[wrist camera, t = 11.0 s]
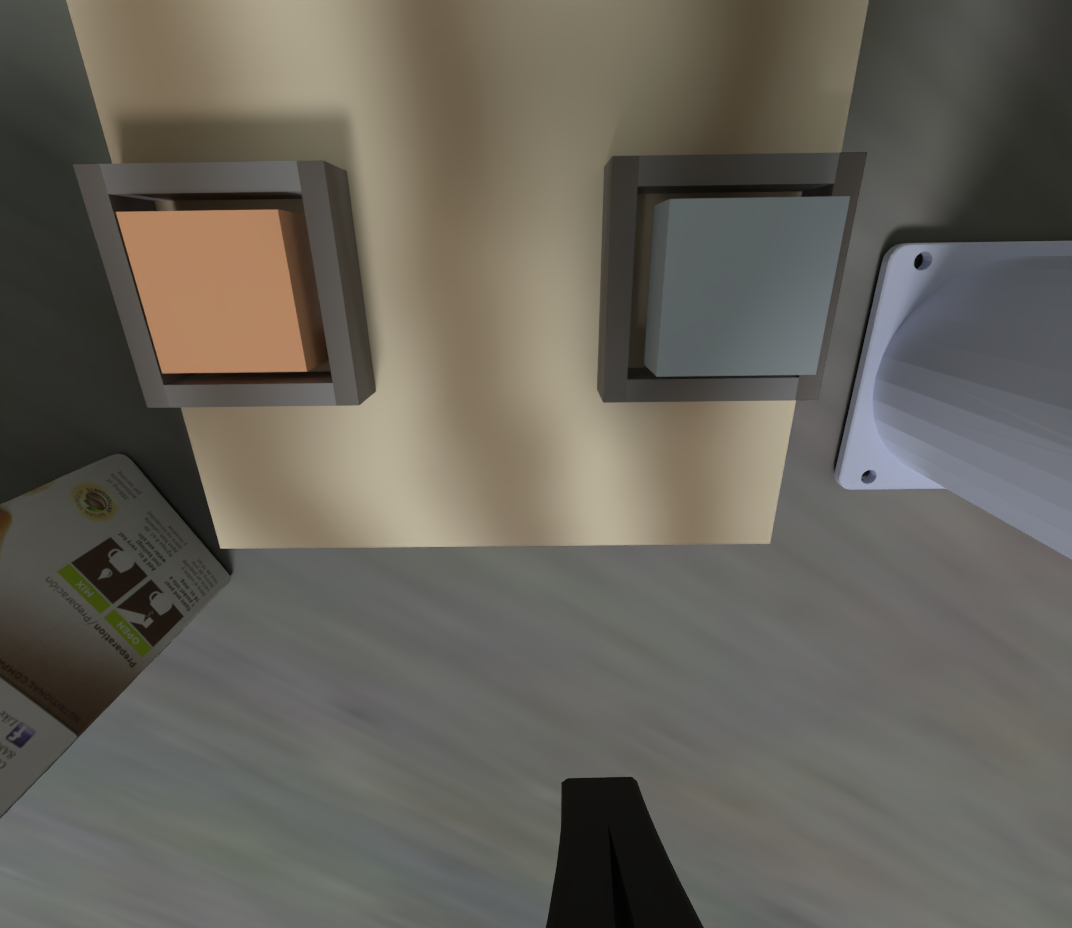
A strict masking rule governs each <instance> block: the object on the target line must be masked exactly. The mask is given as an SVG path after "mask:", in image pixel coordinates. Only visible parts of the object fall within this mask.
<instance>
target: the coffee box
mask: <svg viewBox="0 0 1072 928" xmlns="http://www.w3.org/2000/svg"><path fill="white" fill-rule="evenodd" d="M229 581H230V576H229V574H228V572H227V571H226V570H225V569H224V568H223V567H222V565H221V564H220V563H219V562H218V561H217V560H216V558H215V557H214V556H213V555H212V554H211V553H210V551H209V550H208V549H207V548H206V547H205V545H204V544H203V543H202V542H201V541H200V540H199V538H198V537H197V536H196V535H195V534H194V533H193V531H192V530H191V529H190V528H189V527H188V526H187V524H186V523H185V522H184V521H183V520H182V519H181V518H180V516H179V515H178V514H177V513H176V512H175V511H174V509H173V508H172V507H171V506H170V505H169V504H168V502H167V501H166V500H165V499H164V498H163V496H162V495H161V494H160V493H159V492H158V491H157V489H156V488H155V487H154V486H153V485H152V484H151V482H150V481H149V480H148V479H147V478H146V476H145V475H144V474H143V473H142V472H141V471H140V469H139V468H138V467H137V466H136V465H135V463H134V462H133V461H132V460H131V459H130V458H128V457H127V456H125V455H122V454H114V455H111V456H108V457H106V458H103V459H101V460H99V461H96V462H94V463H92V464H89V465H87V466H85V467H82V468H80V469H78V470H76V471H73V472H71V473H69V474H66V475H64V476H62V477H60V478H57V479H55V480H53V481H51V482H49V483H47V484H45V485H42V486H40V487H38V488H36V489H34V490H32V491H30V492H27V493H25V494H23V495H21V496H18V497H16V498H14V499H12V500H9V501H7V502H5V503H3V504H1V505H0V818H1V817H2V816H3V815H4V814H5V813H6V812H7V811H8V810H9V809H10V808H11V807H12V806H13V804H14V803H15V802H16V801H17V800H18V799H20V798H21V797H22V796H23V795H24V794H25V792H26V791H27V790H28V789H29V788H30V787H31V786H32V785H33V784H34V783H35V782H36V781H37V780H38V779H39V778H40V777H41V776H42V775H43V774H44V773H45V772H46V771H47V770H48V769H49V768H50V767H51V766H52V765H53V764H54V763H55V762H56V761H57V760H58V758H59V757H60V756H61V755H62V754H63V753H64V752H65V751H66V750H67V749H68V748H69V747H70V746H71V745H72V744H73V743H74V742H75V740H76V739H77V738H78V737H79V736H80V735H81V734H82V733H83V732H84V731H85V730H86V729H87V728H88V727H89V726H90V725H91V724H92V723H93V722H94V721H95V720H96V719H97V718H98V717H99V716H100V715H101V714H102V712H103V711H104V710H105V709H106V708H107V707H108V706H109V705H110V704H111V703H112V702H113V701H114V700H115V699H116V698H117V697H118V696H119V695H120V694H121V693H122V692H123V691H124V690H125V689H126V688H127V687H128V686H129V685H130V684H131V683H132V682H133V680H134V679H135V678H136V677H137V676H138V675H139V674H140V673H141V672H142V671H143V670H144V669H145V668H146V667H147V666H148V665H149V664H150V663H151V662H152V661H153V660H154V659H155V658H156V657H157V656H158V655H159V654H160V653H161V652H162V651H163V650H164V649H165V648H166V647H167V646H168V645H169V644H170V642H171V641H172V640H173V639H174V638H175V637H176V636H177V635H178V634H180V632H181V631H182V630H183V629H184V628H185V627H186V626H187V625H188V624H189V623H190V622H191V621H192V620H193V619H194V617H195V616H196V615H197V614H198V613H199V612H200V611H201V610H202V609H203V608H204V607H205V606H206V605H207V604H208V603H209V602H210V601H211V600H212V599H213V598H214V597H215V596H216V595H217V594H218V593H219V592H220V591H221V590H222V589H223V588H224V587H225V586H226V585H227V584H228V583H229Z"/></svg>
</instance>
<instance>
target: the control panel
mask: <svg viewBox="0 0 1072 928" xmlns="http://www.w3.org/2000/svg"><path fill="white" fill-rule="evenodd" d="M66 1H67V5H68V8H69V12H70V15H71V19H72V22H73V26H74V29H75V33H76V37H77V40H78V44H79V47H80V51H81V54H82V58H83V61H84V65H85V69H86V72H87V76H88V79H89V83H90V86H91V90H92V93H93V97H94V101H95V104H96V108H97V111H98V115H99V118H100V122H101V125H102V129H103V133H104V136H105V140H106V143H107V147H108V150H109V154H110V157H111V161H112V164H73V167H74V170H75V174H76V177H77V180H78V184H79V187H80V190H81V193H82V197H83V200H84V203H85V206H86V210H87V213H88V216H89V219H90V223H91V226H92V229H93V232H94V236H95V239H96V242H97V245H98V249H99V252H100V255H101V259H102V262H103V265H104V268H105V272H106V275H107V278H108V281H109V285H110V288H111V291H112V294H113V298H114V301H115V304H116V307H117V311H118V314H119V317H120V320H121V324H122V327H123V330H124V334H125V337H126V340H127V343H128V347H129V350H130V353H131V356H132V360H133V363H134V366H135V369H136V373H137V376H138V379H139V382H140V386H141V389H142V392H143V395H144V399H145V402H146V405H147V408H180V407H181V410H182V413H183V417H184V421H185V424H186V428H187V431H188V435H189V438H190V442H191V445H192V449H193V453H194V456H195V460H196V463H197V467H198V470H199V474H200V477H201V481H202V485H203V488H204V492H205V495H206V499H207V502H208V506H209V509H210V513H211V517H212V520H213V524H214V527H215V531H216V534H217V538H218V541H219V545H220V549H240V548H348V547H456V546H564V545H673V544H770V541H771V535H772V530H773V524H774V519H775V513H776V508H777V502H778V497H779V491H780V486H781V480H782V475H783V469H784V464H785V458H786V453H787V447H788V442H789V436H790V431H791V425H792V420H793V414H794V409H795V403H796V400H818V398H819V393H820V388H821V383H822V378H823V372H824V367H825V362H826V357H827V352H828V347H829V342H830V337H831V332H832V327H833V322H834V317H835V312H836V307H837V302H838V297H839V292H840V287H841V282H842V277H843V272H844V267H845V262H846V257H847V252H848V247H849V242H850V236H851V231H852V226H853V221H854V216H855V211H856V206H857V201H858V196H859V191H860V186H861V181H862V176H863V171H864V166H865V161H866V156H867V152H841V151H842V145H843V140H844V134H845V129H846V123H847V118H848V112H849V107H850V101H851V96H852V90H853V85H854V79H855V74H856V68H857V63H858V57H859V52H860V46H861V41H862V35H863V30H864V24H865V19H866V13H867V8H868V2H869V0H66ZM831 196H850V201H849V206H848V211H847V216H846V221H845V226H844V232H843V237H842V242H841V247H840V252H839V257H838V263H837V268H836V273H835V278H834V283H833V288H832V294H831V299H830V304H829V309H828V314H827V320H826V325H825V330H824V335H823V340H822V345H821V351H820V356H819V361H818V366H817V371H816V375H755V376H671V377H656V376H655V375H654V374H653V373H652V372H651V371H650V370H649V369H648V368H647V367H646V366H645V365H644V354H645V339H646V324H647V309H648V294H649V279H650V263H651V248H652V233H653V218H654V206H655V205H657V204H660V203H662V202H664V201H666V200H669V199H695V198H763V197H831ZM275 209H278V210H283V211H289V212H294V213H299V214H305V217H306V223H307V229H308V235H309V241H310V247H311V253H312V260H313V266H314V272H315V278H316V284H317V290H318V296H319V302H320V309H321V315H322V321H323V327H324V333H325V339H326V345H327V351H328V357H329V361H328V362H326V363H324V364H322V365H319V366H317V367H315V368H313V369H311V370H309V371H307V372H237V373H162V371H161V367H160V364H159V360H158V357H157V354H156V350H155V347H154V343H153V340H152V336H151V333H150V329H149V326H148V322H147V319H146V315H145V312H144V308H143V305H142V301H141V298H140V294H139V291H138V288H137V284H136V281H135V277H134V274H133V270H132V267H131V263H130V260H129V256H128V253H127V249H126V246H125V242H124V239H123V235H122V232H121V228H120V225H119V222H118V218H117V215H116V212H138V211H207V210H275Z"/></svg>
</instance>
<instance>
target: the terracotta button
mask: <svg viewBox="0 0 1072 928" xmlns="http://www.w3.org/2000/svg"><path fill="white" fill-rule="evenodd" d="M116 215H117V218H118V222H119V225H120V228H121V232H122V235H123V239H124V242H125V246H126V249H127V253H128V256H129V260H130V263H131V267H132V270H133V274H134V277H135V281H136V284H137V288H138V291H139V294H140V298H141V301H142V305H143V308H144V312H145V315H146V319H147V322H148V326H149V329H150V333H151V336H152V340H153V343H154V347H155V350H156V354H157V357H158V360H159V364H160V367H161V371H162V373H237V372H307V371H309V370H311V369H313V368H315V367H317V366H319V365H322V364H324V363H326V362H328V361H329V357H328V351H327V345H326V339H325V333H324V327H323V321H322V315H321V309H320V302H319V296H318V290H317V284H316V278H315V272H314V266H313V260H312V253H311V247H310V241H309V235H308V229H307V223H306V217H305V214H299V213H294V212H289V211H283V210H278V209H275V210H207V211H138V212H116Z"/></svg>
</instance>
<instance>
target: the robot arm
mask: <svg viewBox="0 0 1072 928" xmlns="http://www.w3.org/2000/svg"><path fill="white" fill-rule="evenodd" d="M920 253H921V254H922V256H923V262H922V264H921V266H919V267H918V268H917V269H916V268H915V267H914V260H915V258H916V256H917V255H919V254H920ZM868 470H870V473H869V475H868V476H867V477H866V478H864V479H861V476H862V474H863V473H864V472H866V471H868ZM835 480H836V482H837V483H838V484H840V485H841V486H842V487H844V488H845V489H948V490H950V491H951V492H953V493H955V494H957V495H958V496H960V497H962V498H964V499H966V500H967V501H969V502H971V503H973V504H974V505H976V506H978V507H980V508H981V509H983V510H985V511H987V512H989V513H990V514H992V515H994V516H996V517H997V518H999V519H1001V520H1003V521H1004V522H1006V523H1008V524H1010V525H1012V526H1013V527H1015V528H1017V529H1019V530H1020V531H1022V532H1024V533H1026V534H1027V535H1029V536H1031V537H1033V538H1035V539H1036V540H1038V541H1040V542H1042V543H1043V544H1045V545H1047V546H1049V547H1050V548H1052V549H1054V550H1056V551H1058V552H1059V553H1061V554H1063V555H1065V556H1066V557H1068V558H1070V559H1072V241H1021V242H949V243H902V244H897V245H895V246H893V247H892V248H890V249H889V250H888V251H887V253H886V254H885V255H884V258H883V260H882V264H881V268H880V273H879V277H878V282H877V286H876V291H875V295H874V300H873V304H872V309H871V313H870V318H869V322H868V327H867V331H866V335H865V340H864V344H863V349H862V353H861V358H860V362H859V367H858V371H857V376H856V380H855V385H854V389H853V394H852V398H851V403H850V407H849V412H848V416H847V421H846V425H845V430H844V434H843V438H842V443H841V447H840V452H839V456H838V461H837V465H836V470H835ZM546 928H704V927H703V926H702V924H701V922H700V920H699V918H698V916H697V914H696V912H695V910H694V908H693V906H692V904H691V902H690V900H689V898H688V896H687V894H686V892H685V890H684V888H683V887H682V885H681V883H680V881H679V879H678V877H677V874H676V872H675V870H674V868H673V866H672V864H671V862H670V860H669V858H668V856H667V853H666V851H665V849H664V847H663V845H662V842H661V840H660V838H659V836H658V834H657V831H656V829H655V827H654V824H653V822H652V820H651V817H650V815H649V812H648V810H647V807H646V805H645V802H644V800H643V797H642V794H641V792H640V789H639V786H638V783H637V781H636V780H635V779H633V778H632V777H607V778H568V779H566V780H565V781H563V782H562V798H561V834H560V843H559V851H558V859H557V867H556V873H555V879H554V885H553V891H552V897H551V903H550V909H549V915H548V920H547V925H546Z"/></svg>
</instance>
